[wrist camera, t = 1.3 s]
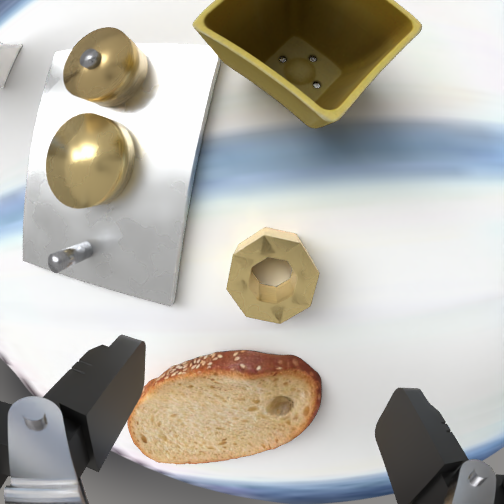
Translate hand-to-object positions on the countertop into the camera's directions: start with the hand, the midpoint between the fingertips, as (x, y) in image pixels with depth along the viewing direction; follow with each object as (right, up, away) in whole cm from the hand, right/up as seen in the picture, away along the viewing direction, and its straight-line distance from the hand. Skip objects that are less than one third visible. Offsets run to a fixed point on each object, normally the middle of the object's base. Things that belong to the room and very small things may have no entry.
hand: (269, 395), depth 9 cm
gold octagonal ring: (+1, +3, +15) cm, 15 cm away
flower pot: (+3, +18, +12) cm, 21 cm away
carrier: (-13, +12, +14) cm, 22 cm away
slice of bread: (-4, -12, +19) cm, 23 cm away
